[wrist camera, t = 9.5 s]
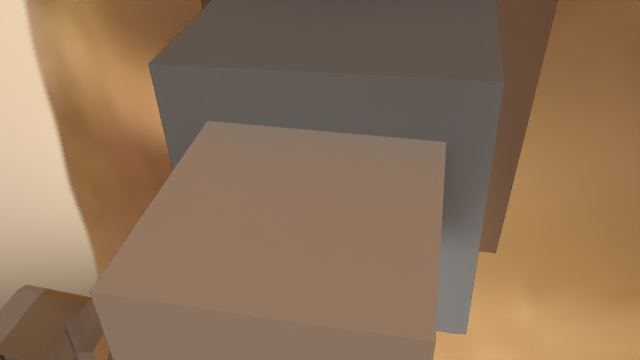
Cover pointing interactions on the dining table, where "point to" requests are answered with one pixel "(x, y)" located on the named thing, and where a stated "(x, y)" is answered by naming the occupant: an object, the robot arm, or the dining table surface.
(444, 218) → the grey square block
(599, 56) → the dining table surface
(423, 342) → the cream cube
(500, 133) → the tan wooden block
